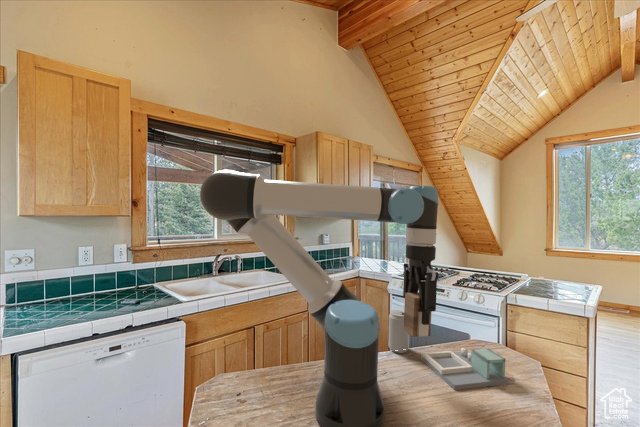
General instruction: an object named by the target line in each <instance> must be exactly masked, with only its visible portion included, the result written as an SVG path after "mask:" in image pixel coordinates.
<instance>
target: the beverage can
mask: <svg viewBox="0 0 640 427" xmlns="http://www.w3.org/2000/svg"><path fill="white" fill-rule="evenodd" d="M387 345H388V348H389V349H390V350H391V351H392V352H394V353H397V354H404V353H406V352H407V351H409V348H410V334H409V333H407V332H406V331H405V330H404V310H399V309H397V310H396V309H395V310H394V309H393V310H390V314H389V315H388V344H387ZM403 349H406V350H403ZM395 350H398V351H395Z"/></svg>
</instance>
